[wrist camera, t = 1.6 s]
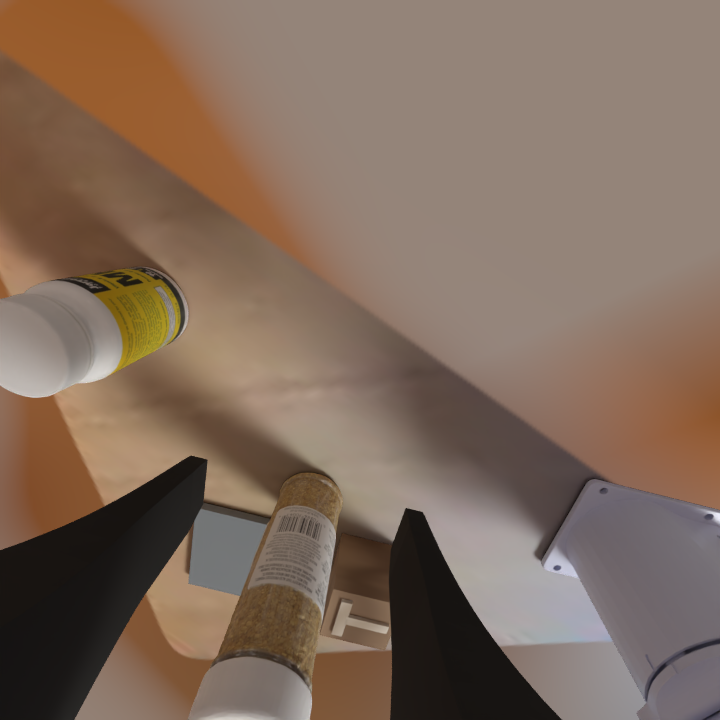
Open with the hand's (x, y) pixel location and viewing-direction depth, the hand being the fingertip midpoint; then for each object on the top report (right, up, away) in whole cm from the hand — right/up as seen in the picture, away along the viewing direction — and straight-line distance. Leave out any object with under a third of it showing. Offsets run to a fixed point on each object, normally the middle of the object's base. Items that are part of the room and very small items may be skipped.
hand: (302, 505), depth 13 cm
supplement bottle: (-10, +8, +9) cm, 16 cm away
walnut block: (+2, -10, +15) cm, 18 cm away
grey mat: (-7, -10, +15) cm, 19 cm away
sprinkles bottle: (-1, -4, +13) cm, 14 cm away
